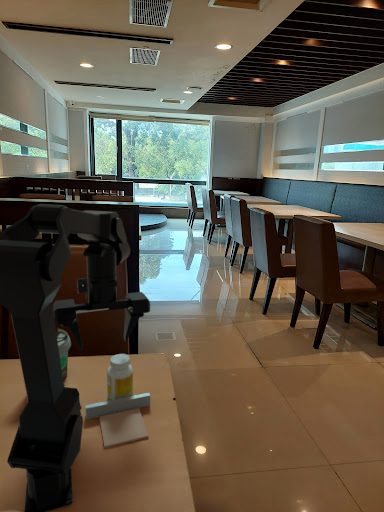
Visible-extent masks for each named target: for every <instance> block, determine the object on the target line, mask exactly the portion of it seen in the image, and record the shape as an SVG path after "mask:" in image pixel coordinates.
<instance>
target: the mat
mask: <svg viewBox="0 0 384 512" xmlns="http://www.w3.org/2000/svg"><path fill="white" fill-rule="evenodd" d="M140 409H141V408H137V409H132V410H128V411H123V412H118V413H114V414H109V415H104V416H100V417H99V424H100V428H101V429H100V430H101V434H102V441H103V446H104V449H107V448H110V447H115V446H119V445H123V444H127V443H131V442H135V441H139V440H143V439H148V438H149V433H148V431H147V430H148V429H147V427H146V425H145V421H144V418H143V415H142V413H141V410H140Z"/></svg>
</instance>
